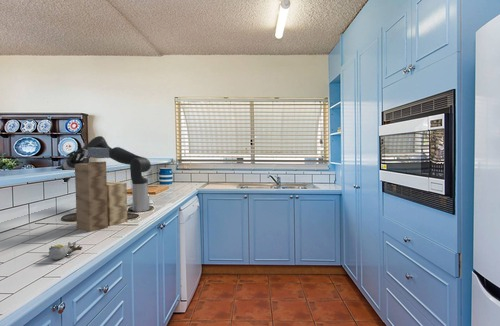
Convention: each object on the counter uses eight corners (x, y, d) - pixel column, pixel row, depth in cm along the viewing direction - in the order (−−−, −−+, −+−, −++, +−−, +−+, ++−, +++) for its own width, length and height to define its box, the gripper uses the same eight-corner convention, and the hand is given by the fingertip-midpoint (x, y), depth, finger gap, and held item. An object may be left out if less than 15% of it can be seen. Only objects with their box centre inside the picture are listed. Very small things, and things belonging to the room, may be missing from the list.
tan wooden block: (114, 218, 170) (113, 181, 169) (127, 221, 163) (126, 183, 162) (96, 222, 162) (95, 183, 160) (110, 225, 155) (109, 185, 154)
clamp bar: (87, 154, 178) (87, 145, 178) (109, 157, 167) (109, 148, 166) (75, 154, 173) (75, 145, 172) (96, 158, 161) (96, 148, 160)
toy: (88, 238, 123) (72, 245, 108) (87, 251, 123) (71, 261, 108) (56, 239, 121) (35, 246, 107) (55, 252, 121) (34, 262, 106)
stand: (94, 224, 158) (92, 160, 156) (107, 227, 152) (106, 161, 150) (76, 228, 151) (74, 161, 149) (90, 231, 144) (88, 162, 142)
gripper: (86, 167, 187) (99, 154, 178) (62, 169, 175) (75, 154, 166) (82, 156, 188) (95, 143, 179) (58, 157, 177) (71, 143, 168)
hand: (85, 148), depth 173 cm, fingers closed on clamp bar, 2 cm apart
